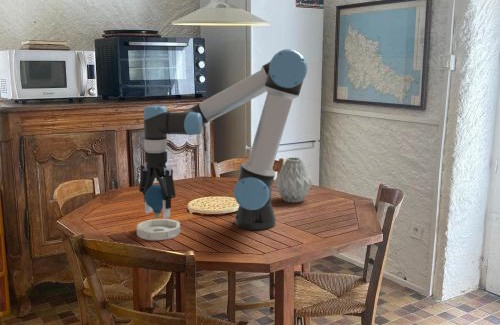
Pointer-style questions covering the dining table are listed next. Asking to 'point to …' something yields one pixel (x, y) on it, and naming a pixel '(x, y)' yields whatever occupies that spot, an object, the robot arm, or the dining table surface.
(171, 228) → the lamp base
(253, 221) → the robot arm
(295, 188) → the vase
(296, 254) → the dining table surface
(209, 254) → the dining table surface
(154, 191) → the light bulb
